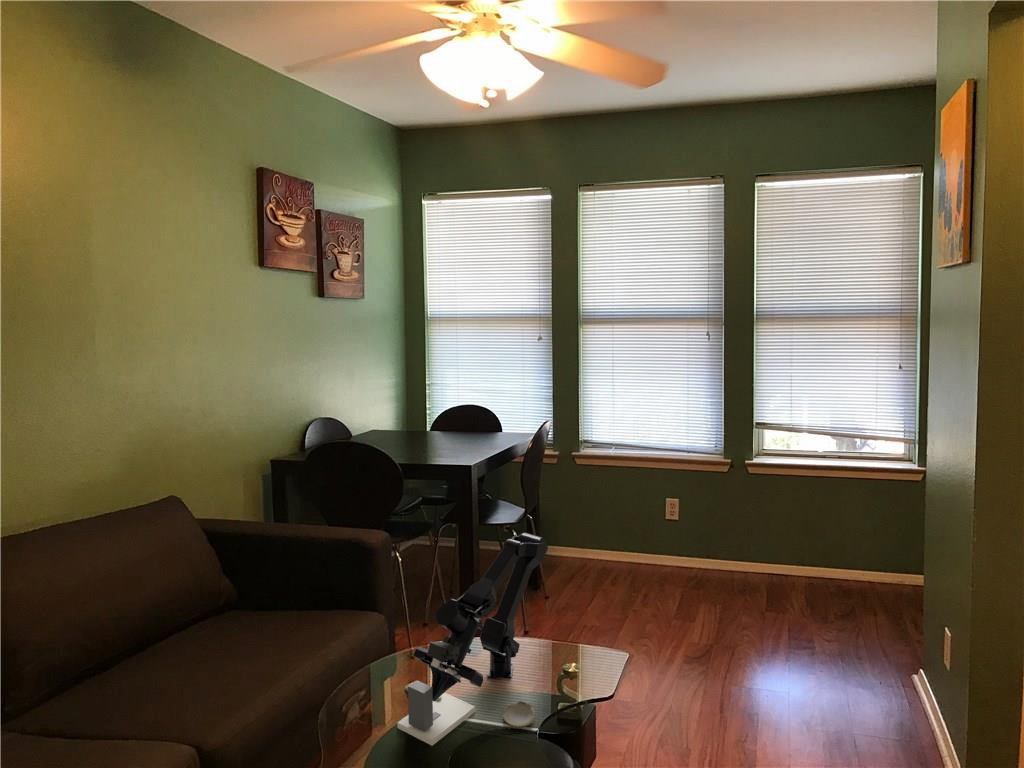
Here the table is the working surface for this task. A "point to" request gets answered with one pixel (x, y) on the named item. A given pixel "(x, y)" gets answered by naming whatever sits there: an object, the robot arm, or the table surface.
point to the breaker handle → (420, 705)
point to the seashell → (519, 714)
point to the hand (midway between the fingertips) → (432, 700)
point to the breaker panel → (440, 719)
